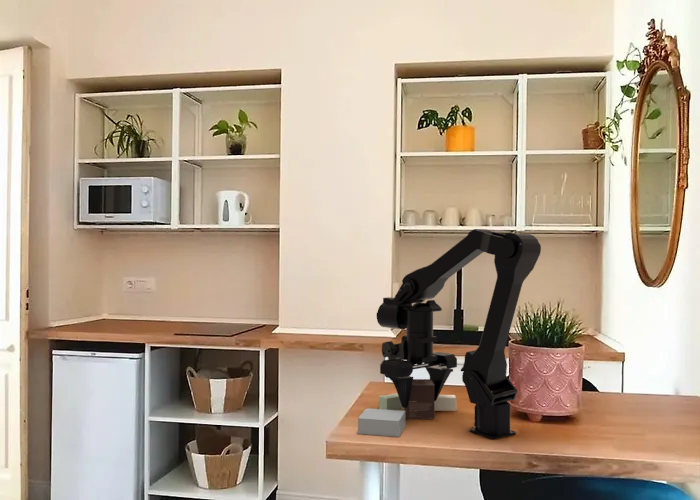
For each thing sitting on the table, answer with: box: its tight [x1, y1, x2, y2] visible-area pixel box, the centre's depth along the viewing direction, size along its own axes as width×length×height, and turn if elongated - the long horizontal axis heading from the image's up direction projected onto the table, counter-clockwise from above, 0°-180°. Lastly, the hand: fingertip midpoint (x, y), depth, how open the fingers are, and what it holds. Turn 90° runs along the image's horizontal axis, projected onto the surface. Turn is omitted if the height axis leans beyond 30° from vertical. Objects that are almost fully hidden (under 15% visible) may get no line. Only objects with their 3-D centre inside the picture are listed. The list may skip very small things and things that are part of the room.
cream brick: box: [434, 394, 458, 412], centre depth 141 cm, size 6×3×3 cm, turn 90°
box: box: [404, 378, 435, 420], centre depth 135 cm, size 6×6×7 cm
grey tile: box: [357, 407, 406, 438], centre depth 124 cm, size 8×8×3 cm
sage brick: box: [378, 392, 405, 410], centre depth 142 cm, size 6×3×3 cm, turn 122°
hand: (419, 404), depth 135 cm, fingers open, 9 cm apart
